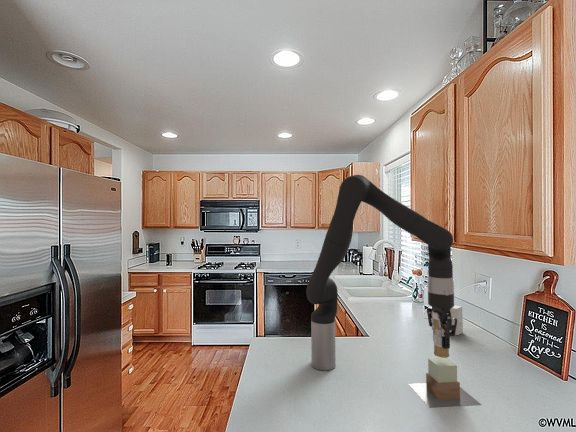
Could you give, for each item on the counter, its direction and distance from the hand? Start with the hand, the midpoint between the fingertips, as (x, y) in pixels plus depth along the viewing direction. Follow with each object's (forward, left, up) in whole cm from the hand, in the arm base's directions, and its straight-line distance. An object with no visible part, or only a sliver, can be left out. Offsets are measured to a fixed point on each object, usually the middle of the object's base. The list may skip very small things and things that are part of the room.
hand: (441, 344), depth 103 cm
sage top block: (0, 0, -10) cm, 10 cm away
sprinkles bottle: (0, 0, -3) cm, 3 cm away
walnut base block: (0, 0, -15) cm, 15 cm away
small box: (-57, +38, -16) cm, 71 cm away
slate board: (0, 0, -16) cm, 16 cm away
